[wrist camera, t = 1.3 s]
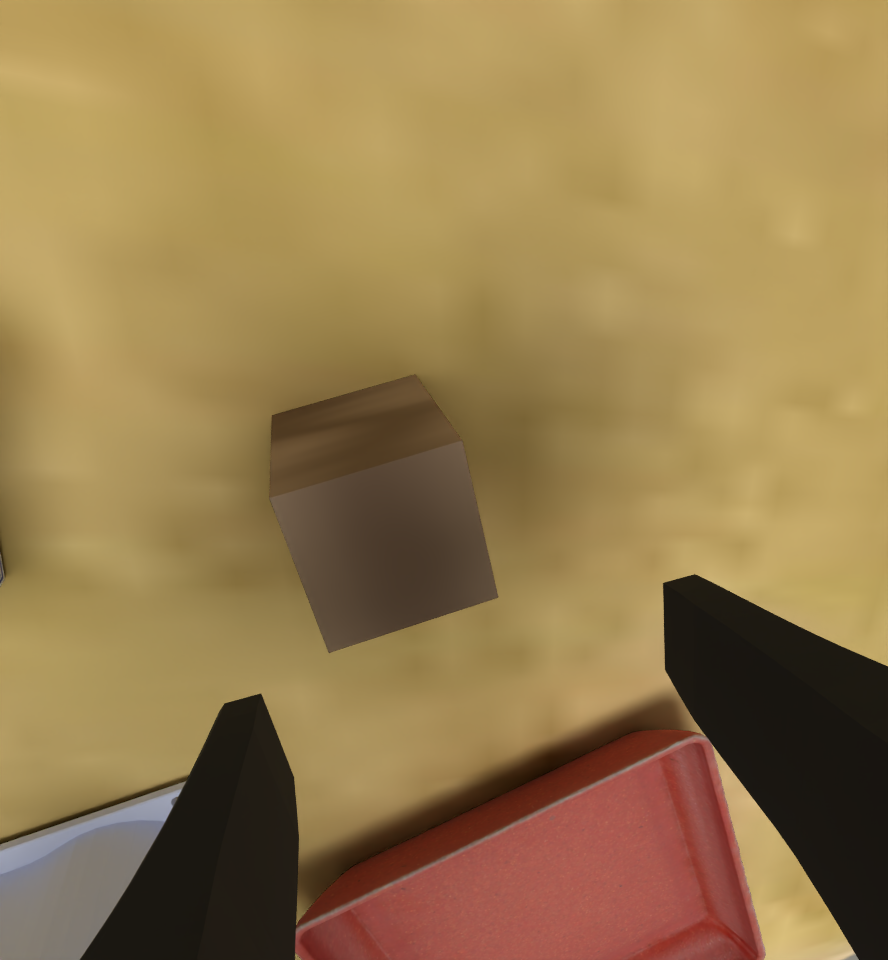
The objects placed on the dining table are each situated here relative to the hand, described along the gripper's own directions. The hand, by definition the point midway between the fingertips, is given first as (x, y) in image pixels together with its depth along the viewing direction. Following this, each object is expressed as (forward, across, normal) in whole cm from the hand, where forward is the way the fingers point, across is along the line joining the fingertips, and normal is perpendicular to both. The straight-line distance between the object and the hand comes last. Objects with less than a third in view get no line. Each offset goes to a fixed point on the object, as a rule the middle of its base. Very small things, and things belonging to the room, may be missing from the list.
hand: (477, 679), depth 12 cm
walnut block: (+11, +1, 0) cm, 11 cm away
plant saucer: (+11, -2, +24) cm, 27 cm away
